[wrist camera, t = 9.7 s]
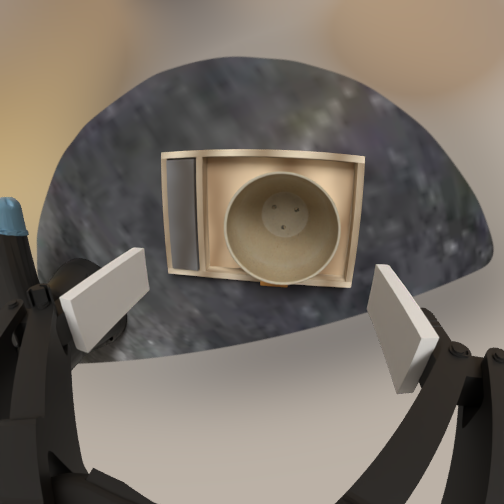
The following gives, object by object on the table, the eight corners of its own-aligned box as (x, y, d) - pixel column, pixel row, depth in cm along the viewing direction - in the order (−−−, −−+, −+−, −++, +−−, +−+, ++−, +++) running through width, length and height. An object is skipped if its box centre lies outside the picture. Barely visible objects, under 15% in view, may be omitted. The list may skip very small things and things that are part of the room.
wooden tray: (175, 267, 35) (166, 276, 32) (169, 152, 30) (158, 152, 27) (347, 280, 32) (351, 291, 29) (360, 156, 27) (366, 156, 24)
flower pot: (245, 259, 32) (231, 287, 26) (235, 172, 29) (216, 178, 22) (332, 255, 30) (341, 283, 24) (328, 165, 27) (338, 167, 20)
